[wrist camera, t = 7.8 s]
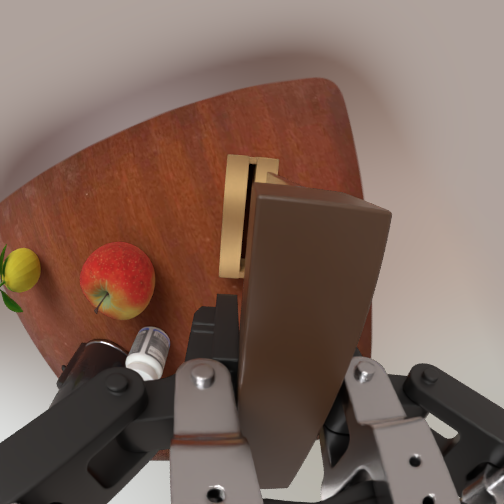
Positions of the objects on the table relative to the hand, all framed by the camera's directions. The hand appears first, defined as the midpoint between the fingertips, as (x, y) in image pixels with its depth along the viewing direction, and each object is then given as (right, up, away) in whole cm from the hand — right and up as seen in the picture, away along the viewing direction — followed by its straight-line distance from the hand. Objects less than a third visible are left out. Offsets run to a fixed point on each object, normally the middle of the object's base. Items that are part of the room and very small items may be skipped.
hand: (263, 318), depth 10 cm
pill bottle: (-14, -9, +24) cm, 30 cm away
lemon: (-31, +1, +20) cm, 36 cm away
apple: (-15, +1, +21) cm, 25 cm away
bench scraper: (0, +2, +5) cm, 6 cm away
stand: (-1, +7, +19) cm, 21 cm away
